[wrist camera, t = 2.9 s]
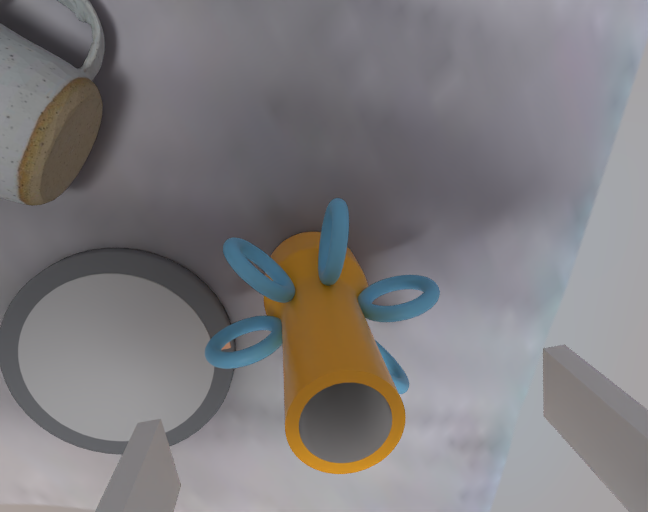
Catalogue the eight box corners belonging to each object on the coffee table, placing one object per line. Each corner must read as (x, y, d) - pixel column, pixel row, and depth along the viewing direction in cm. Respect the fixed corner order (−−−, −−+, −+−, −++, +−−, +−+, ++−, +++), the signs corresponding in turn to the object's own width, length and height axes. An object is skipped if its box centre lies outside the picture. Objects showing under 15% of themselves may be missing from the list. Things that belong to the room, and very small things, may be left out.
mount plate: (51, 459, 31) (41, 474, 30) (-26, 269, 27) (-42, 277, 26) (253, 420, 32) (252, 434, 31) (209, 229, 28) (205, 235, 26)
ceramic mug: (79, 203, 26) (5, 232, 19) (-71, 136, 25) (-217, 139, 17) (149, 29, 24) (97, -13, 17) (-8, -58, 23) (-143, -147, 15)
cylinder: (183, 277, 28) (89, 437, 14) (291, 149, 27) (309, 183, 13) (327, 382, 32) (370, 599, 17) (431, 274, 30) (573, 414, 16)
